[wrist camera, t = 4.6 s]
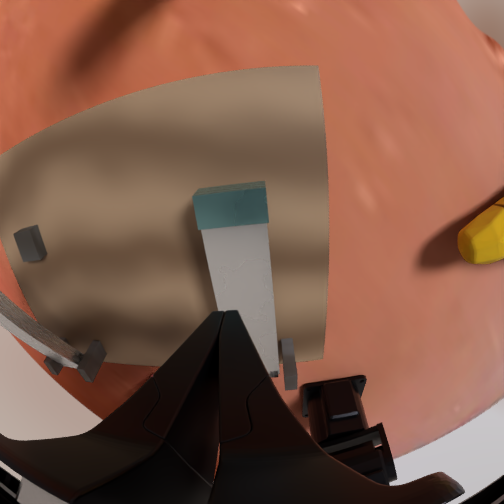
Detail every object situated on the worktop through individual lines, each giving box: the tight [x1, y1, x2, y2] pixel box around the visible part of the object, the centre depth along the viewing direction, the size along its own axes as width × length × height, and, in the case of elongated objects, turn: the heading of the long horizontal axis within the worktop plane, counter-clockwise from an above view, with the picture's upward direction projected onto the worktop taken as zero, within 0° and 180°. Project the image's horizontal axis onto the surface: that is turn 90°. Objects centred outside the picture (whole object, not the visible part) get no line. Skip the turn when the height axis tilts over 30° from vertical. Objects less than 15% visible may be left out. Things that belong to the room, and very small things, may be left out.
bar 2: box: [192, 181, 280, 378], centre depth 15 cm, size 13×3×1 cm, turn 6°
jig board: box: [0, 66, 329, 390], centre depth 16 cm, size 20×26×6 cm
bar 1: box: [0, 291, 84, 368], centre depth 14 cm, size 13×3×1 cm, turn 6°
